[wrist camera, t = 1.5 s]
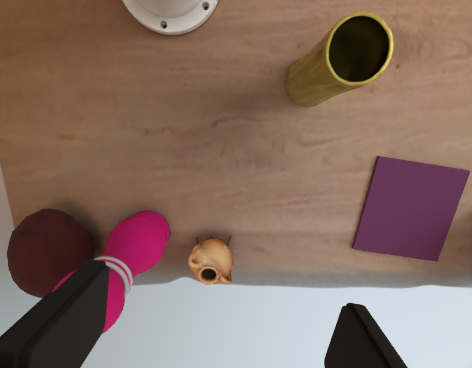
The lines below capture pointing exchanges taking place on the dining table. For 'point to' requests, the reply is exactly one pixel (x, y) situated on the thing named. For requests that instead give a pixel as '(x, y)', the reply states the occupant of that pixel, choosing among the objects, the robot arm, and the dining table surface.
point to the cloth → (409, 208)
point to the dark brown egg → (47, 250)
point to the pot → (211, 261)
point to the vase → (342, 59)
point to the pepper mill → (130, 256)
